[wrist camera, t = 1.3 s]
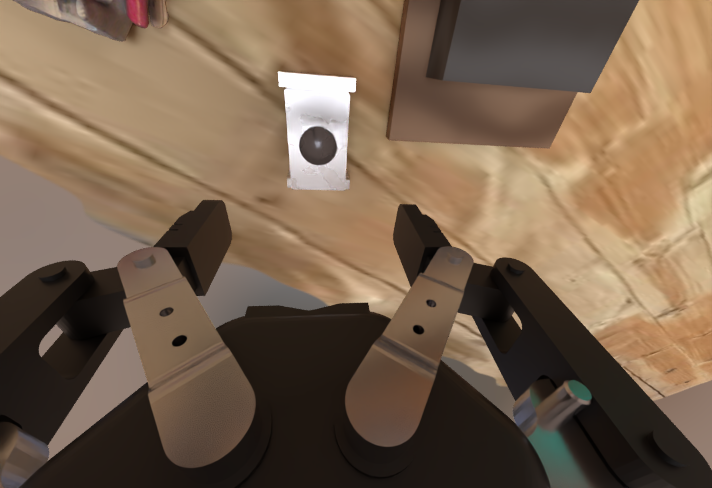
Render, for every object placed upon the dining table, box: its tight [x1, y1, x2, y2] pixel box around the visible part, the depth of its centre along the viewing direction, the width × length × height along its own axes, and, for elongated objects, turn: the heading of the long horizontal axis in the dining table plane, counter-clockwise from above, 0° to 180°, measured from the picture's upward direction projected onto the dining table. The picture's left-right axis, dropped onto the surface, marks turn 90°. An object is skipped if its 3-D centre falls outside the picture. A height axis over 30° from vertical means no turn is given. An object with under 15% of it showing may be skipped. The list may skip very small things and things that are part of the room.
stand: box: [386, 0, 639, 148], centre depth 20 cm, size 20×18×6 cm
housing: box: [278, 71, 356, 190], centre depth 24 cm, size 10×6×5 cm, turn 175°
